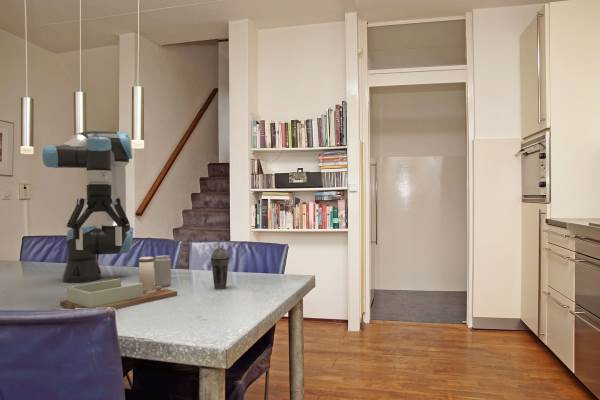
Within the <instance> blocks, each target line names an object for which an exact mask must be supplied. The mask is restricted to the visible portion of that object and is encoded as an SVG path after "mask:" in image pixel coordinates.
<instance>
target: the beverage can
mask: <svg viewBox="0 0 600 400" xmlns="http://www.w3.org/2000/svg"><path fill="white" fill-rule="evenodd" d="M171 261H172V259H171V257H170V255H168V254H167V255H156V256H155V257H154V286H155V287H156V286H161V288H165V287H166V288H167V287H169V286H170V285H171V283H172V266H171V265H172V262H171Z"/></svg>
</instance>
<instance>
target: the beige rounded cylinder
mask: <svg viewBox="0 0 600 400" xmlns="http://www.w3.org/2000/svg"><path fill="white" fill-rule="evenodd" d="M154 259H155V257H154V256H143V257H142V256H141V257H139V258H138V267H139V269H138V275H139V276H138V279H139V281H138V284H139V283H143V289H146V292H150V291H153V290H154V286H155V284H154Z"/></svg>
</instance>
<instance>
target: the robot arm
mask: <svg viewBox="0 0 600 400" xmlns="http://www.w3.org/2000/svg"><path fill="white" fill-rule="evenodd" d="M132 149H133V148H132V144H131V138H130V135H129V134H128V133H127V132H123V131H108V130H107V131H106V130H105V131H98V130H87V131H83V132H79V133H75V134H73V135H70V136H69V137H68V138H67V139H66V141H65V142H64V143H61V144H59V145H54V144H53V145H46V146H44V147H43V149H42V156H41V157H42V162H43V163H42V164H43V165H44V166H45V167H46V168H53V169H59V168H61V169H66V168H67V169H68V168H70V169H71V168H72V169H73V168H74V169H77V168H78V169H86V171H85V172H86V178H85V179H86V181H85V182H86V183H87V185H86V198H82V197H81V198H77V199H76V205H75V207H74V209H73V211H72V214H71V215H70V218H69V219H68V222H67V223H66V228H69V230H67V233H66V265H65V268H64V271H63V275H62V282H63V283H69V284H70V283H71V284H72V283H78V284H79V283H85V282H86V283H90V282H93V281H99V280H101V279H102V277H103V276H102V271H101V269H100V268H101V267H100V265H99V263H98V255H99V256H100V255H101V256H102V255H121V254H122V255H123V254H128V253H130V252H131V250H132V245H133V238H134V227H132V226H131V223H130V221H129V219H128V216H127V194H126V193H127V190H126V189H127V186H126V185H127V184H126V183H127V181H126V180H127V179H126V178H127V177H126V173H127V172H126V166H128V164H129V163H130V159H133V151H132ZM85 205H87V207H86V208H85V210H84V212H83V209H84V206H85ZM82 212H83V213H82ZM97 212H98V213H99V212H104V213H105V214H104V215H105V216H104V217H105V220H104V221H103V222H102V223H101V227H100V228H98V226H97V225H96V224H94V225H92V224H91V225H86V226H83V225H84V224H85V223H86V221H87V220H88V218H89V217H90V216H91V215H92V214H93V213H97ZM81 213H82V214H81Z"/></svg>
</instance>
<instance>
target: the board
mask: <svg viewBox="0 0 600 400" xmlns="http://www.w3.org/2000/svg"><path fill="white" fill-rule="evenodd" d="M176 296H178V291H177V290H173V289H168V288H165V287H161V286H156V285H154V290H153V291H150V292H146V289H143V297H138V298H134V299H129V300H124V301H120V302H115V303H110V304H105V305H101V306H96V307H113V308H116V309H115V310H118V309H117V308H119V309H123V308H122V307H124V308H127V306H128V307H132V305H133V306H135V305H136V304H137V305H141V303H142V304H145V302H146V303H150V302H154V301H158V300H163V299H167V298H173V297H176ZM137 305H136V306H137ZM59 306H60V307H63V308H67V309H69V310H72V309H75V308H88V307H84V306H81V305H78V304H75V303H72V302H69V301H67V299H63V300H59ZM96 307H91V308H96Z"/></svg>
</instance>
